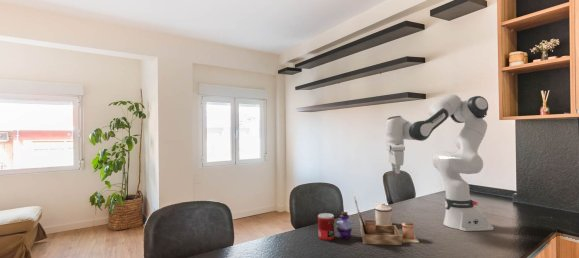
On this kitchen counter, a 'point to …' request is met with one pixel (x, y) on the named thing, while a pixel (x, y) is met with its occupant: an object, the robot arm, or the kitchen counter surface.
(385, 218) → the teacup with lid
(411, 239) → the cork mat
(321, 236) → the canned food
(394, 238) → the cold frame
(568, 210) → the kitchen counter surface
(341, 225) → the potion bottle
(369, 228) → the pot far
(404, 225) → the pot near
